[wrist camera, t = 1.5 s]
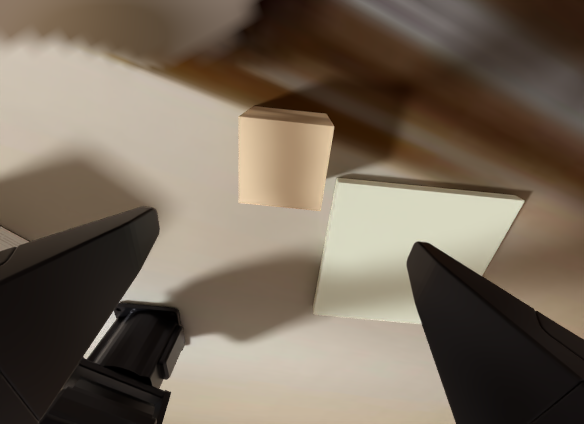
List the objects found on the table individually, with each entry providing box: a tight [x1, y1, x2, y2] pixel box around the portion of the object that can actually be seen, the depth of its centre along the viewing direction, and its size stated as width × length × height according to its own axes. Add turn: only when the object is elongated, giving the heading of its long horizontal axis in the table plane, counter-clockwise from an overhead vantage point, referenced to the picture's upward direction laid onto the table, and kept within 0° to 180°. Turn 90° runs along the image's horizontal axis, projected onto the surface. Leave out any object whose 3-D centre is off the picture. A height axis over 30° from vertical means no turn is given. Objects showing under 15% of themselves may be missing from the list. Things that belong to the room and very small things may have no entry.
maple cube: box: [239, 106, 334, 211], centre depth 17 cm, size 5×5×5 cm
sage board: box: [313, 178, 524, 324], centre depth 23 cm, size 14×14×1 cm
